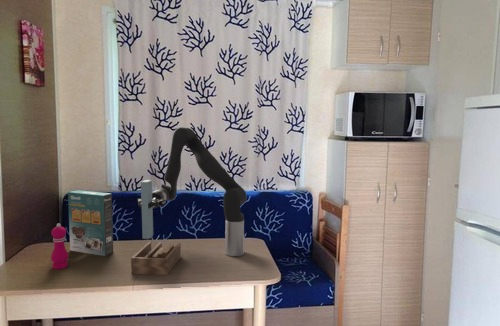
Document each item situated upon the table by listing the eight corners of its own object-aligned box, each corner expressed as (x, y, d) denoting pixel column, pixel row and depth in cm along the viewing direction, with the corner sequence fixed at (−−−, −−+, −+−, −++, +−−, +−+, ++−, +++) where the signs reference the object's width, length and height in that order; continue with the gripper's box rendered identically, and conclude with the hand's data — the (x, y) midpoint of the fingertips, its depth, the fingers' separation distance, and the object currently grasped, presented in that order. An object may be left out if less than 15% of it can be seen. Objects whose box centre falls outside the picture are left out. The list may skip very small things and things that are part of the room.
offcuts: (174, 260, 194) (174, 243, 193) (166, 270, 181) (166, 252, 180) (160, 259, 194) (160, 243, 194) (152, 269, 182) (151, 252, 181)
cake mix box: (113, 252, 204) (111, 193, 201) (105, 256, 198) (103, 195, 195) (79, 247, 212) (77, 190, 208) (70, 250, 206) (68, 192, 203)
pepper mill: (65, 262, 189) (63, 220, 186) (71, 266, 183) (69, 223, 181) (48, 266, 184) (47, 223, 181) (54, 270, 178) (52, 226, 176)
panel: (153, 234, 190) (151, 179, 187) (148, 238, 184) (147, 182, 181) (146, 234, 190) (145, 179, 187) (142, 238, 184) (140, 181, 181)
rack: (180, 256, 198) (180, 242, 197) (167, 275, 175) (166, 259, 174) (149, 255, 199) (148, 241, 199) (131, 273, 176) (131, 257, 176)
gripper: (142, 190, 200) (129, 197, 182) (170, 191, 198) (160, 198, 181) (143, 205, 200) (129, 213, 183) (171, 206, 199) (160, 214, 182)
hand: (145, 206), depth 182 cm, fingers closed on panel, 3 cm apart
